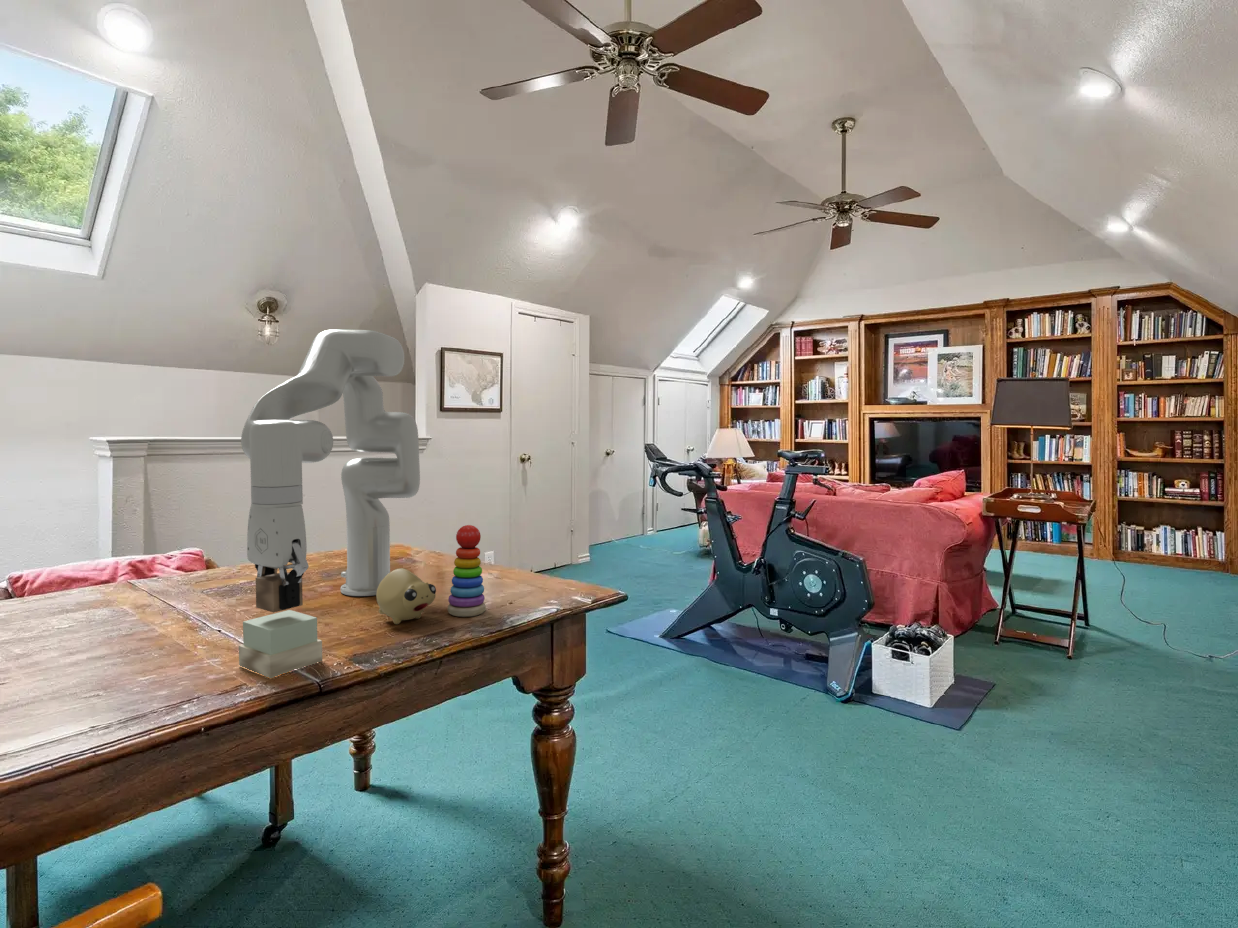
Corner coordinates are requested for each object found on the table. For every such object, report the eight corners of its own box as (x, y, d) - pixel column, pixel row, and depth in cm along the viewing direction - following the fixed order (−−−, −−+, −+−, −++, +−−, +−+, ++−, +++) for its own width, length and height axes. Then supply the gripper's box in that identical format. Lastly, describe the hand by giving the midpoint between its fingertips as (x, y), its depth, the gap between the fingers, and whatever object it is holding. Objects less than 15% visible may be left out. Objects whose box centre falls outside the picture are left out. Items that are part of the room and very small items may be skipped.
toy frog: (404, 633, 125) (404, 578, 124) (367, 621, 132) (366, 569, 131) (445, 620, 133) (444, 569, 132) (407, 609, 140) (407, 561, 139)
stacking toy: (476, 619, 134) (476, 529, 133) (440, 616, 136) (440, 527, 134) (491, 608, 142) (491, 523, 140) (457, 605, 143) (457, 521, 142)
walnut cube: (256, 607, 107) (255, 577, 107) (285, 600, 112) (284, 571, 111) (273, 612, 105) (272, 581, 104) (302, 605, 109) (302, 575, 109)
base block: (239, 669, 107) (238, 645, 107) (291, 652, 115) (290, 630, 115) (270, 681, 103) (269, 656, 102) (322, 663, 110) (321, 640, 110)
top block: (243, 645, 107) (242, 621, 107) (290, 632, 114) (289, 609, 114) (270, 655, 103) (270, 630, 103) (317, 640, 110) (317, 617, 109)
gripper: (225, 494, 108) (228, 602, 109) (285, 502, 99) (288, 619, 100) (270, 490, 115) (272, 592, 116) (329, 497, 106) (331, 607, 107)
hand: (279, 603), depth 108 cm, fingers closed on walnut cube, 5 cm apart
